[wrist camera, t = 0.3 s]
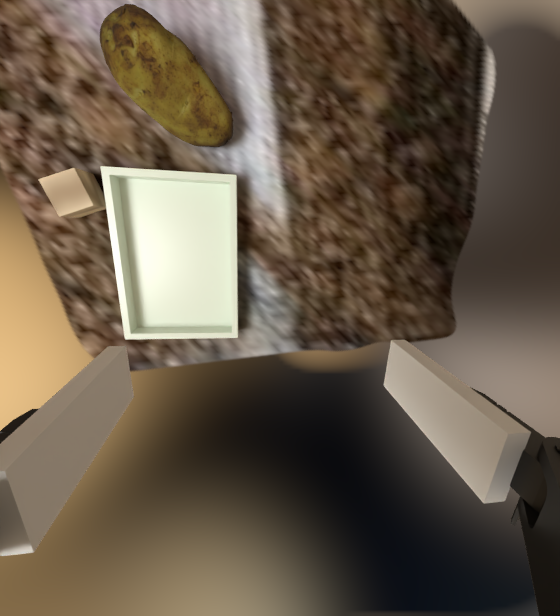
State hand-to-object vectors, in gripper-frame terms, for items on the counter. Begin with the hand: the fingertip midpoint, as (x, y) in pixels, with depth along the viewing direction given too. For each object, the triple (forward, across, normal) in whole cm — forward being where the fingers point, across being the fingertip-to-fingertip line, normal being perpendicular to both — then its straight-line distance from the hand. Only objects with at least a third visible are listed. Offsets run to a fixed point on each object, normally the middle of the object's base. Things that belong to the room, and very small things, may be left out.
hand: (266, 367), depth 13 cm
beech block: (+27, -21, +9) cm, 35 cm away
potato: (+27, -8, +20) cm, 34 cm away
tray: (+27, -10, +2) cm, 28 cm away
